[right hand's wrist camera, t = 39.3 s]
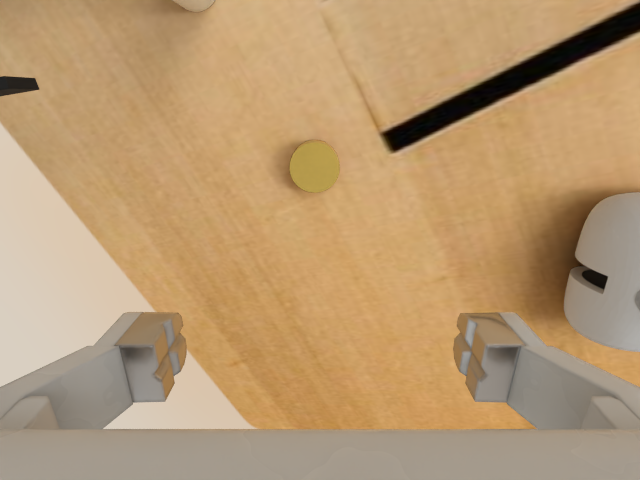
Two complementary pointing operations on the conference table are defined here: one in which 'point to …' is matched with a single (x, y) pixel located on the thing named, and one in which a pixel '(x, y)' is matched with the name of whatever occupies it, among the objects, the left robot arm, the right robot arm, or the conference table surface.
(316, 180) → the lid
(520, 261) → the conference table surface
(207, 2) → the white bottle
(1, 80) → the left robot arm
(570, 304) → the white notched device
